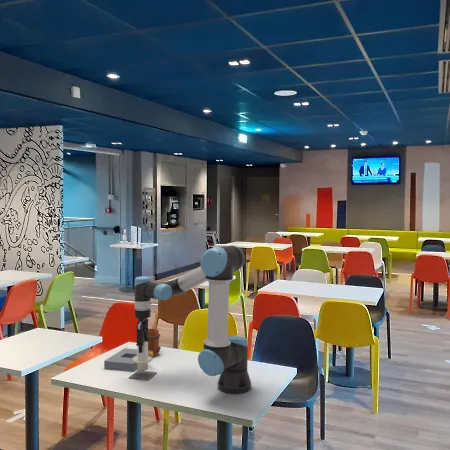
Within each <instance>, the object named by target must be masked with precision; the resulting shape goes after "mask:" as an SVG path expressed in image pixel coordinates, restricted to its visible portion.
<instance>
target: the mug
mask: <svg viewBox="0 0 450 450" xmlns="http://www.w3.org/2000/svg"><path fill="white" fill-rule="evenodd" d="M160 337H161V334H160V333H159V329H158V325H157V324H153V325H152V326H151V328H148V339H149V341H147V342H148V350H150V351H153V357H156V356H158V355H159V353H160V351H161V349H162V347H161V346H160V345H159V343H160Z"/></svg>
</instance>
